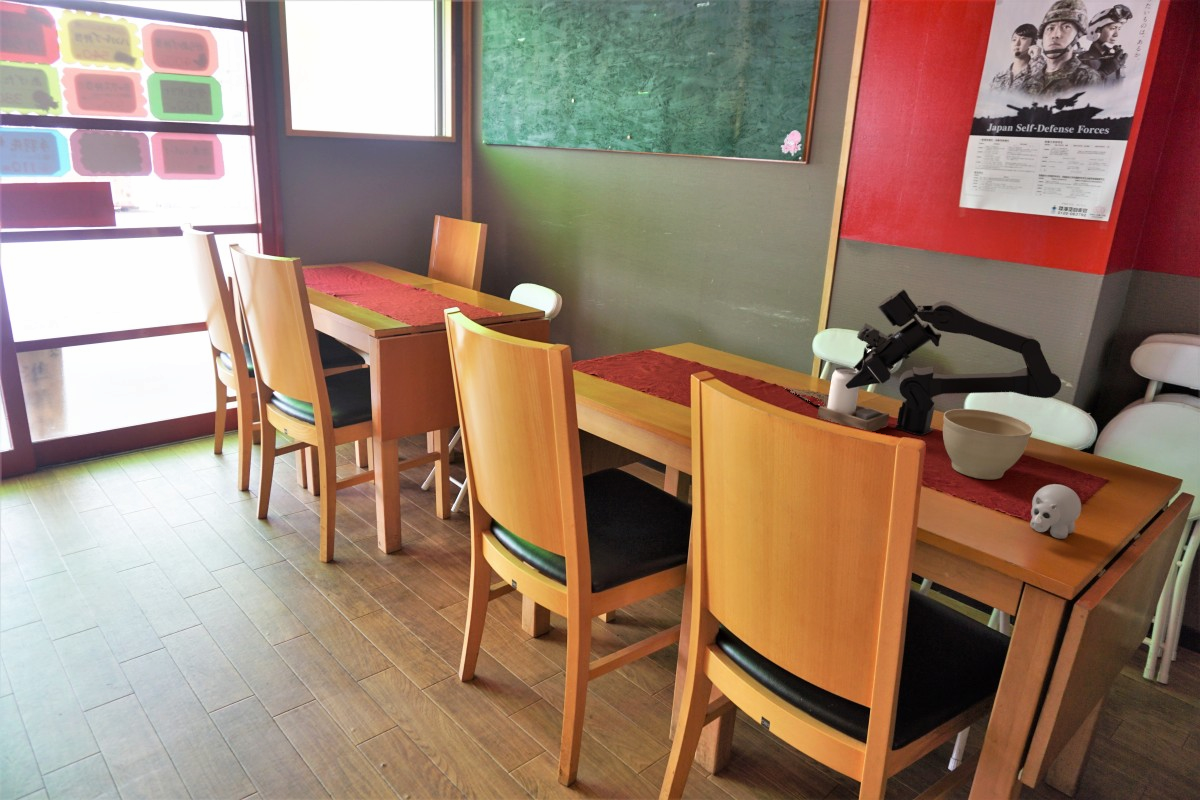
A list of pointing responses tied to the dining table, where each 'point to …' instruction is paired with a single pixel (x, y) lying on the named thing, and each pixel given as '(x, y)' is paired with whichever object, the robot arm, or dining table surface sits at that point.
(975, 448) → the planter bowl
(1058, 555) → the dining table surface
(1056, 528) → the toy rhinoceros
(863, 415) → the grey block
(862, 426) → the tray
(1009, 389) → the robot arm
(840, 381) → the can
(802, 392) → the wooden fragment
